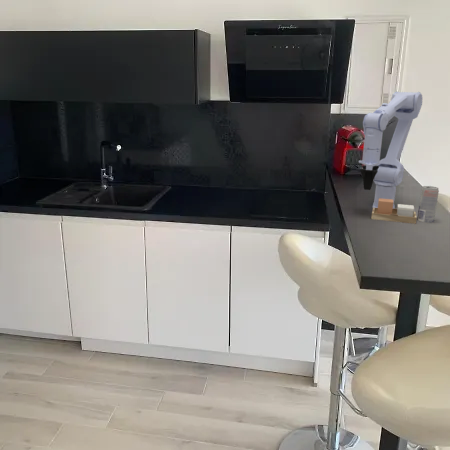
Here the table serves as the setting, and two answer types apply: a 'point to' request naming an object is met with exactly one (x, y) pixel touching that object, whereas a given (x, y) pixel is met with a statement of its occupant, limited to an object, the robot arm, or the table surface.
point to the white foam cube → (405, 210)
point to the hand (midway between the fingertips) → (367, 187)
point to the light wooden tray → (393, 217)
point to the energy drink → (428, 204)
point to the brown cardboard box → (385, 206)
